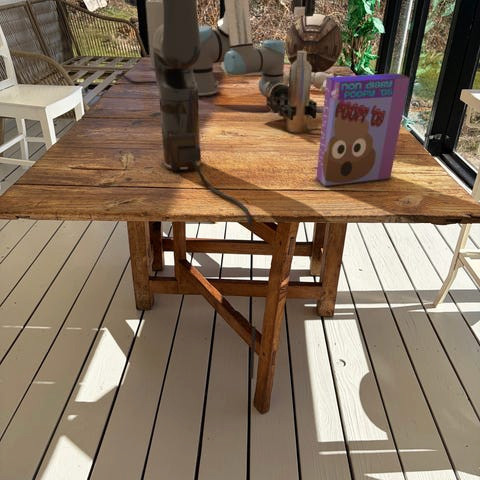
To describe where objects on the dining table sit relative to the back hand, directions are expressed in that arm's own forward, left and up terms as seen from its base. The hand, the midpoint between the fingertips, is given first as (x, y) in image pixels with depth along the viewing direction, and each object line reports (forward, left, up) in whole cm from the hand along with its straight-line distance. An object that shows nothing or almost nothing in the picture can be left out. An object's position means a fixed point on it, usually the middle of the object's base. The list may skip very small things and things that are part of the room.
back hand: (303, 114), depth 140 cm
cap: (+8, -11, +29) cm, 32 cm away
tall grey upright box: (-108, +21, -6) cm, 110 cm away
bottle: (-5, +2, -6) cm, 8 cm away
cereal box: (+31, -13, -6) cm, 34 cm away
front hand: (+8, -11, +28) cm, 31 cm away
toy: (-34, +44, -6) cm, 56 cm away
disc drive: (-77, +42, -6) cm, 89 cm away
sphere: (-58, +63, -6) cm, 86 cm away
